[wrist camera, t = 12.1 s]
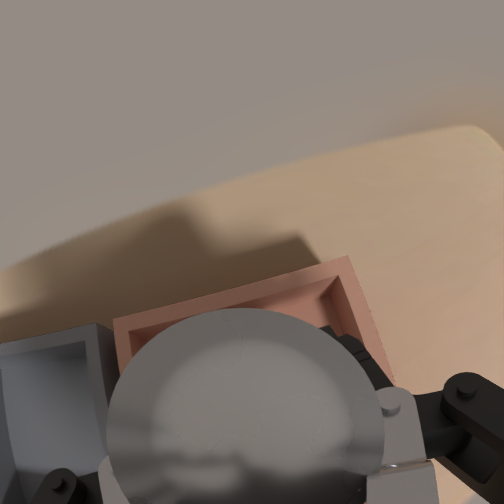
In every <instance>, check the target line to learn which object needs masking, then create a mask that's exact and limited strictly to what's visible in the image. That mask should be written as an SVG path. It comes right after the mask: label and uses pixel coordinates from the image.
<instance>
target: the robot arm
mask: <svg viewBox="0 0 504 504" xmlns="http://www.w3.org/2000/svg"><path fill="white" fill-rule="evenodd" d="M319 329H320V330H322V331H324V332H326V333H327V334H329V335H330V336H331V337H332V338H334V339H335V340H336V341H338V342H339V343H340V344H341V345H342V346H343V347H344V348H345V349H346V350H347V351H348V352H349V353H350V354H351V355H352V356H353V357H354V358H355V359H356V360H357V362H358V363H359V364H360V366H361V367H362V368H363V370H364V371H365V372H366V374H367V376H368V378H369V380H370V381H371V383H372V385H373V387H374V389H375V392H376V394H377V397H378V400H379V402H380V406H381V410H382V415H383V419H384V432H385V442H384V454H383V459H382V463H381V468H380V472H379V473H375V474H372V475H368V476H367V486H366V501H365V503H364V504H439V498H438V490H437V483H436V476H435V470H434V466H433V463H432V461H431V460H427V459H432V458H434V459H436V460H437V461H438V462H439V463H440V464H442V465H443V466H444V467H445V468H447V469H448V470H449V471H450V472H451V473H453V474H454V475H455V476H456V477H458V478H459V479H460V480H461V481H462V482H464V483H465V484H466V485H467V486H469V487H470V488H471V489H472V490H474V491H475V492H476V493H477V494H479V495H480V496H481V497H483V498H484V499H485V500H486V501H488V502H489V503H490V504H504V389H503V388H501V387H499V386H497V385H496V384H494V383H492V382H491V381H489V380H487V379H485V378H484V377H482V376H480V375H478V374H476V373H471V372H463V373H458V374H456V375H454V376H452V377H451V378H449V379H448V380H447V382H446V383H445V385H444V388H443V390H442V391H437V392H432V393H428V394H422V395H412V394H411V393H410V392H409V391H407V390H405V389H403V388H399V387H395V386H394V385H393V384H392V382H391V381H390V380H389V378H388V377H387V376H386V374H385V373H384V372H383V370H382V369H381V368H380V366H379V365H378V364H377V362H376V361H375V360H374V358H372V356H371V354H370V353H369V352H368V351H367V350H366V348H365V347H364V345H363V344H362V343H361V341H360V340H359V339H357V338H355V337H353V336H351V335H349V334H345V335H342V336H339V337H337V335H336V334H335V332H334V331H333V329H332V328H331V326H330V325H326V326H323V327H320V328H319ZM30 504H130V503H129V501H128V500H127V498H126V497H125V495H124V494H123V492H122V490H121V488H120V486H119V484H118V482H117V480H116V478H115V475H114V473H113V470H112V467H111V464H110V460H109V455H108V456H106V457H105V458H104V459H103V461H102V462H101V464H100V465H99V468H98V471H96V472H93V473H90V474H87V475H83V476H79V477H77V476H76V475H75V474H74V473H73V472H72V471H71V470H69V469H67V468H58V469H55V470H53V471H51V472H50V473H48V474H47V475H46V477H45V478H44V480H43V481H42V483H41V485H40V486H39V488H38V490H37V491H36V493H35V495H34V497H33V498H32V500H31V502H30Z"/></svg>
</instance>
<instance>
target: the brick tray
mask: <svg viewBox="0 0 504 504" xmlns="http://www.w3.org/2000/svg"><path fill="white" fill-rule="evenodd" d="M231 308H254V309H263V310H269V311H275V312H279V313H283V314H286V315H290V316H293V317H296V318H298V319H300V320H303V321H305V322H307V323H310V324H312V325H314V326H315V327H317V328H320V327H323V326H326V325H330V326H331V328H332V329H333V331H334V332H335V334H336V335H337V337H339V336H342V335H345V334H349V335H351V336H353V337H355V338H357V339H359V340H360V341H361V343H362V344H363V345H364V347H365V348H366V350H367V351H368V352H369V353H370V354H371V356H372V358H374V360H375V361H376V362H377V364H378V365H379V366H380V368H381V369H382V370H383V372H384V373H385V374H386V376H387V377H388V378H389V380H390V381H391V382H392V384H393V385H394V386H395V387H396V385H395V382H394V379H393V375H392V372H391V369H390V366H389V363H388V360H387V357H386V354H385V352H384V349H383V346H382V343H381V340H380V337H379V334H378V332H377V329H376V326H375V323H374V321H373V318H372V315H371V313H370V310H369V307H368V305H367V302H366V300H365V297H364V294H363V292H362V289H361V287H360V284H359V282H358V279H357V277H356V274H355V272H354V270H353V267H352V265H351V262H350V260H349V257H348V255H347V256H344V257H341V258H337V259H334V260H331V261H327V262H324V263H320V264H317V265H313V266H310V267H307V268H303V269H300V270H296V271H293V272H289V273H285V274H282V275H278V276H275V277H271V278H268V279H264V280H260V281H257V282H253V283H250V284H246V285H242V286H239V287H235V288H231V289H227V290H224V291H220V292H216V293H213V294H209V295H205V296H201V297H197V298H194V299H190V300H186V301H182V302H178V303H174V304H170V305H166V306H162V307H158V308H154V309H150V310H146V311H142V312H138V313H134V314H130V315H126V316H122V317H118V318H114V319H112V320H113V329H114V337H115V345H116V352H117V359H118V365H119V371H120V376H121V374H122V373H123V371H124V369H125V368H126V366H127V365H128V364H129V362H130V361H131V359H132V358H133V357H134V356H135V355H136V353H137V352H138V351H139V350H140V349H141V348H142V347H143V346H144V345H145V344H146V343H148V342H149V341H150V340H151V339H152V338H154V337H155V336H156V335H157V334H159V333H160V332H162V331H164V330H165V329H167V328H168V327H170V326H172V325H174V324H176V323H178V322H180V321H182V320H184V319H187V318H189V317H192V316H195V315H199V314H202V313H205V312H210V311H215V310H220V309H231Z"/></svg>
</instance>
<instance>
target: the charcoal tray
mask: <svg viewBox="0 0 504 504" xmlns="http://www.w3.org/2000/svg"><path fill="white" fill-rule="evenodd" d="M119 378H120V371H119V365H118V359H117V352H116V345H115V337H114V332H113V331H111V330H109V329H107V328H105V327H103V326H101V325H100V324H98V323H93V324H88V325H84V326H80V327H75V328H71V329H67V330H62V331H58V332H53V333H49V334H44V335H40V336H35V337H30V338H26V339H21V340H16V341H12V342H7V343H2V344H0V504H30V502H31V500H32V498H33V497H34V495H35V493H36V491H37V490H38V488H39V486H40V485H41V483H42V481H43V480H44V478H45V477H46V475H47V474H48V473H50V472H51V471H53V470H55V469H58V468H67V469H69V470H71V471H72V472H73V473H74V474H75V475H76V476H77V477H79V476H83V475H87V474H90V473H93V472H96V471H98V468H99V465H100V464H101V462H102V461H103V459H104V458H105V457H106V456H108V455H109V454H108V449H107V439H106V425H107V414H108V409H109V405H110V400H111V397H112V394H113V392H114V389H115V386H116V384H117V382H118V380H119Z"/></svg>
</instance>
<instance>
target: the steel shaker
mask: <svg viewBox="0 0 504 504" xmlns="http://www.w3.org/2000/svg"><path fill="white" fill-rule="evenodd" d="M106 439H107V449H108V454H109V460H110V464H111V467H112V470H113V473H114V475H115V478H116V480H117V482H118V484H119V486H120V488H121V490H122V492H123V494H124V495H125V497H126V498H127V500H128V501H129V503H130V504H364V503H365V501H366V486H367V476H368V475H372V474H375V473H379V472H380V468H381V463H382V459H383V454H384V442H385V432H384V419H383V415H382V410H381V406H380V402H379V400H378V397H377V394H376V392H375V389H374V387H373V385H372V383H371V381H370V380H369V378H368V376H367V374H366V372H365V371H364V370H363V368H362V367H361V366H360V364H359V363H358V362H357V360H356V359H355V358H354V357H353V356H352V355H351V354H350V353H349V352H348V351H347V350H346V349H345V348H344V347H343V346H342V345H341V344H340V343H339V342H338V341H336V340H335V339H334V338H332V337H331V336H330V335H329V334H327V333H326V332H324V331H322V330H320V329H319V328H317V327H315V326H314V325H312V324H310V323H307V322H305V321H303V320H300V319H298V318H296V317H293V316H290V315H286V314H283V313H279V312H275V311H269V310H263V309H254V308H231V309H220V310H215V311H210V312H205V313H202V314H199V315H195V316H192V317H189V318H187V319H184V320H182V321H180V322H178V323H176V324H174V325H172V326H170V327H168V328H167V329H165V330H164V331H162V332H160V333H159V334H157V335H156V336H155V337H154V338H152V339H151V340H150V341H149V342H148V343H146V344H145V345H144V346H143V347H142V348H141V349H140V350H139V351H138V352H137V353H136V355H135V356H134V357H133V358H132V359H131V361H130V362H129V364H128V365H127V366H126V368H125V369H124V371H123V373H122V374H121V376H120V378H119V380H118V382H117V384H116V386H115V389H114V392H113V394H112V397H111V400H110V405H109V409H108V414H107V425H106Z"/></svg>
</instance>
